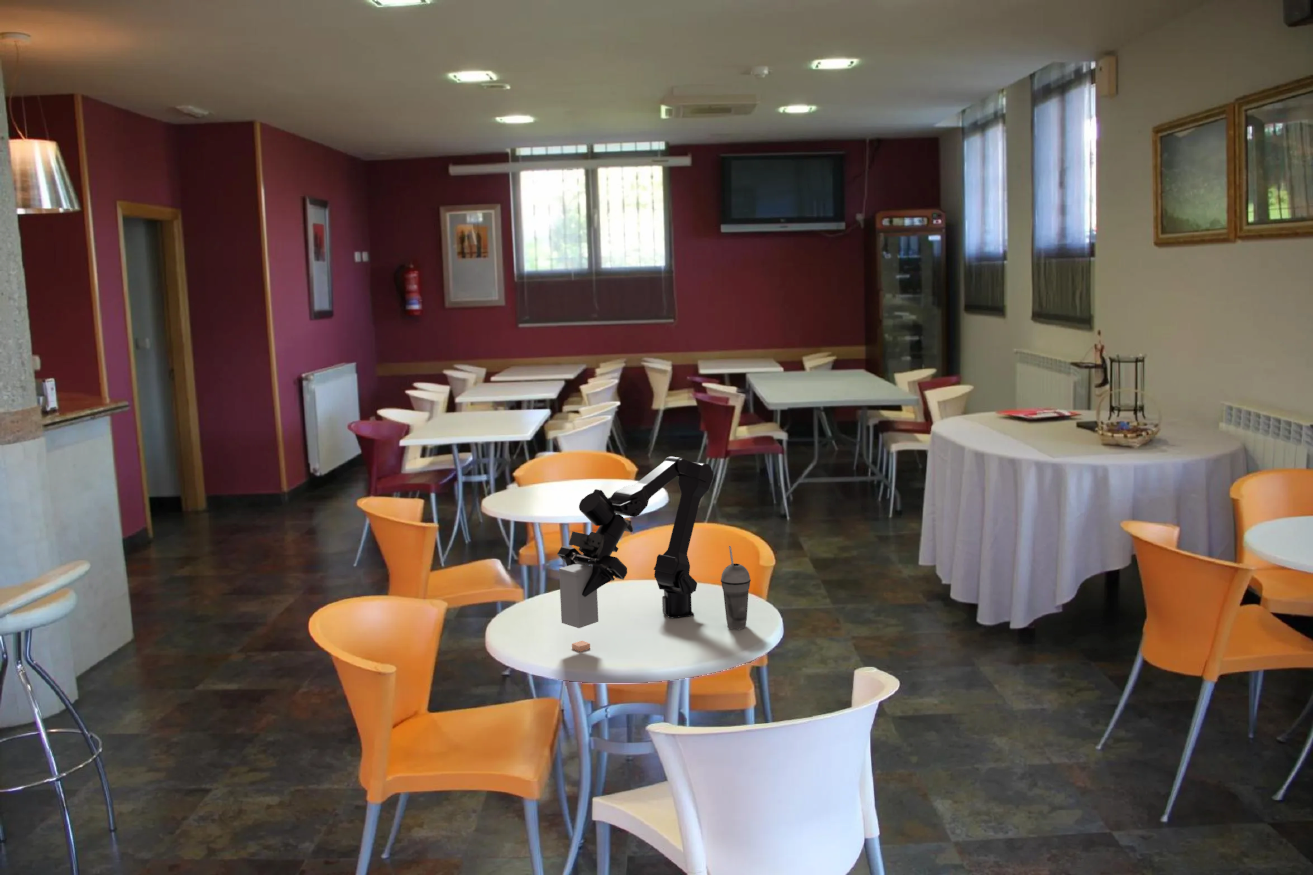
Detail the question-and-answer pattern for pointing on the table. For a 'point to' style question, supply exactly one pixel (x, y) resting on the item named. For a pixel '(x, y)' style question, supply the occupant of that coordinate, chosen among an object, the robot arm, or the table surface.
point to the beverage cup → (735, 594)
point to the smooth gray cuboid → (577, 596)
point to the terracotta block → (580, 645)
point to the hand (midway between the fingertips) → (574, 593)
